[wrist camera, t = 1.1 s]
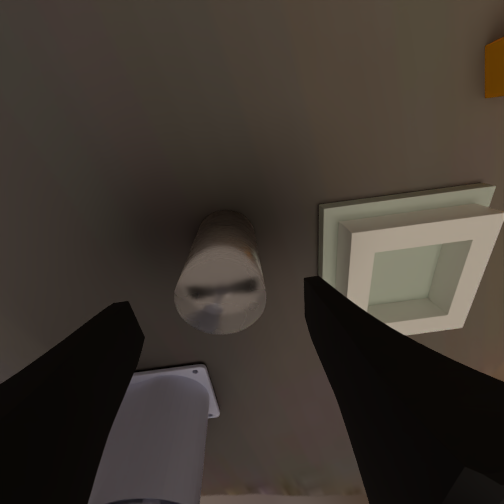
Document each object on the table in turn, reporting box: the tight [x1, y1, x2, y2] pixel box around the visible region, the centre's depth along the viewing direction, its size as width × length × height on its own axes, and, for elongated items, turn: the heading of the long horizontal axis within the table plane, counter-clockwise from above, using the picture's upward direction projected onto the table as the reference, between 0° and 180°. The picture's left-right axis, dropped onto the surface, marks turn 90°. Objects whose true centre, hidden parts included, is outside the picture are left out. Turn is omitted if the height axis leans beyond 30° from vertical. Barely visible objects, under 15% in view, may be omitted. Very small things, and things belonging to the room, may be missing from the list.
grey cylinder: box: [174, 210, 266, 334], centre depth 14 cm, size 4×4×7 cm
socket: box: [318, 183, 504, 335], centre depth 17 cm, size 11×11×3 cm
